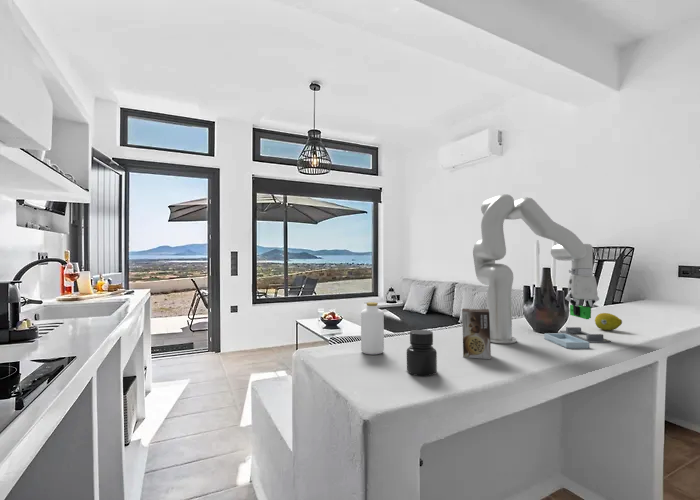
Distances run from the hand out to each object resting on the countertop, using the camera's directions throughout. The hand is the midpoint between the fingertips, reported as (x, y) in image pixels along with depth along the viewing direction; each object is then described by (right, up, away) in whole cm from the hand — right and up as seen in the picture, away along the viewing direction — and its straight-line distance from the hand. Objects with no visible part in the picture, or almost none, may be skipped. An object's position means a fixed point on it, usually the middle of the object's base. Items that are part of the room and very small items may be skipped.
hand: (582, 315), depth 150 cm
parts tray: (-14, -9, -11) cm, 20 cm away
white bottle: (-91, -10, -22) cm, 94 cm away
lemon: (+20, -10, +12) cm, 25 cm away
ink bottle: (-78, -9, -44) cm, 90 cm away
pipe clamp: (0, -1, 0) cm, 1 cm away
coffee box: (-55, -9, -28) cm, 62 cm away
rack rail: (+1, -9, 0) cm, 9 cm away
